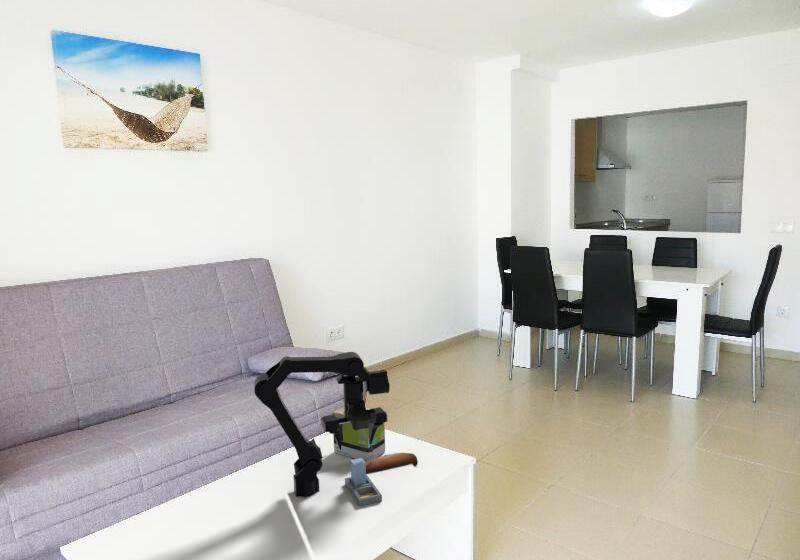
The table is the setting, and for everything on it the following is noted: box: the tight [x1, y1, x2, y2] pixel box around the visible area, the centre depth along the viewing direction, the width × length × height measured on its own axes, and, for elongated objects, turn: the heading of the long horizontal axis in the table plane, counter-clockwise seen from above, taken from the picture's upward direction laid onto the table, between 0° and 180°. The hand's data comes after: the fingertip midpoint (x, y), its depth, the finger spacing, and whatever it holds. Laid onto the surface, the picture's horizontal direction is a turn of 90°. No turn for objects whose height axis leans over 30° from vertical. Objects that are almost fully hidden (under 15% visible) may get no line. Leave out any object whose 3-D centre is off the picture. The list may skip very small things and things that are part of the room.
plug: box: [350, 458, 367, 487], centre depth 170 cm, size 4×4×8 cm
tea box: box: [332, 406, 386, 462], centre depth 195 cm, size 15×10×15 cm, turn 56°
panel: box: [344, 474, 383, 508], centre depth 167 cm, size 8×14×3 cm, turn 23°
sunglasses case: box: [365, 452, 419, 475], centre depth 185 cm, size 18×7×7 cm
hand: (355, 446), depth 170 cm, fingers open, 9 cm apart
